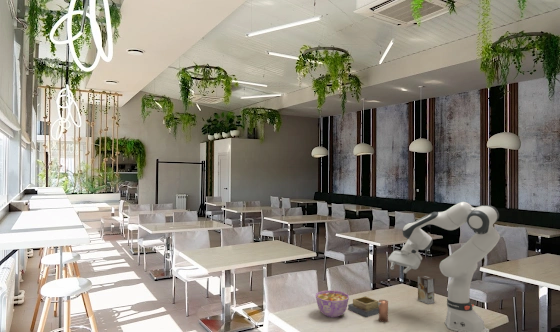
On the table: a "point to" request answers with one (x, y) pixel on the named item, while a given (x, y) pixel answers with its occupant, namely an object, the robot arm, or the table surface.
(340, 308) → the bowl of food
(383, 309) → the spout can
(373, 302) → the grey square holder
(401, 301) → the table surface
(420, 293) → the coffee box
